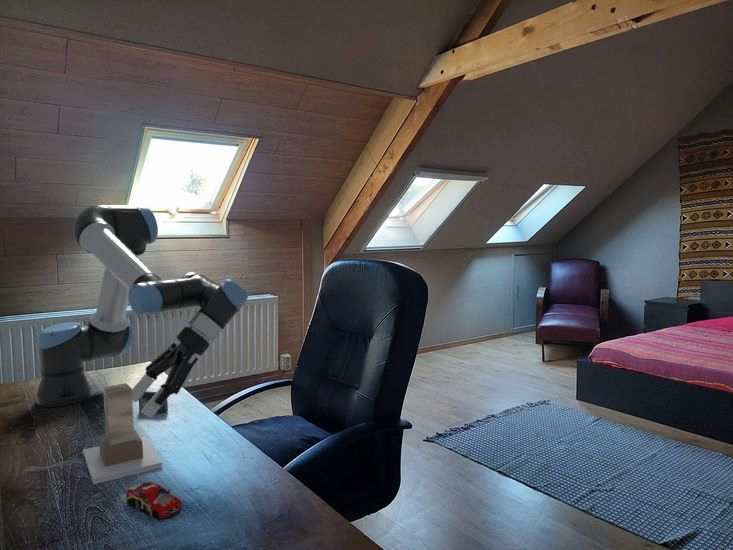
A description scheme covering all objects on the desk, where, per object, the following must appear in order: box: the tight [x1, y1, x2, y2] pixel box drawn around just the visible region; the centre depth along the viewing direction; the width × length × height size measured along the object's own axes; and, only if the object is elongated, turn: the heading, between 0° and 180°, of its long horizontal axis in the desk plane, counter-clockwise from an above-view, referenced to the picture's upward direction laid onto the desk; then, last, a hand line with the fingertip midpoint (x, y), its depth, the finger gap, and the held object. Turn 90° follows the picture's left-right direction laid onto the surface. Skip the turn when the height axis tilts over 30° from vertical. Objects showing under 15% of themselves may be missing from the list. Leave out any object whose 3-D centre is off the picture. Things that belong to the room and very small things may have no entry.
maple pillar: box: [102, 383, 135, 444], centre depth 126 cm, size 5×5×12 cm
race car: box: [125, 481, 182, 521], centre depth 106 cm, size 13×5×4 cm, turn 54°
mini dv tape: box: [138, 391, 169, 414], centre depth 159 cm, size 8×2×6 cm, turn 80°
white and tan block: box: [82, 429, 163, 485], centre depth 127 cm, size 18×14×5 cm
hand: (138, 406), depth 128 cm, fingers open, 13 cm apart
